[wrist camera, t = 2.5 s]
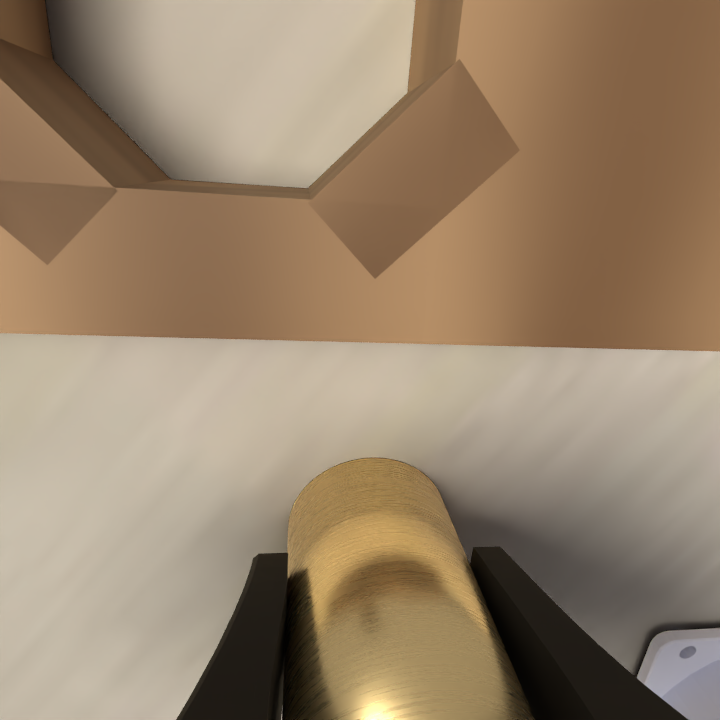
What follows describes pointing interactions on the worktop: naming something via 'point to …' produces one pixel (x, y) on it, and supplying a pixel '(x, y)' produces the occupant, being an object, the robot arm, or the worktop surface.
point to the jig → (398, 196)
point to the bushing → (387, 606)
